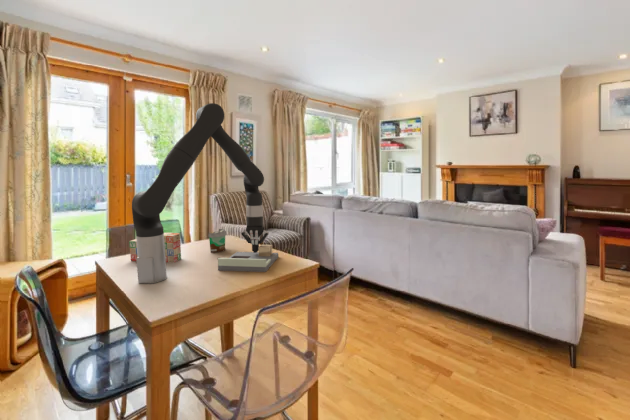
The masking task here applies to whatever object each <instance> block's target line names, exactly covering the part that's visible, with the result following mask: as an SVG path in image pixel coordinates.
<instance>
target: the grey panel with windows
mask: <svg viewBox="0 0 630 420" xmlns="http://www.w3.org/2000/svg"><path fill="white" fill-rule="evenodd" d="M278 258H279V252H272V254H271V255H270V256H259V251H258V252H257V253H254V252H253V251H235V253H233V254H231V256H229V257H218V258H217V271H224V272H225V271H228V272H231V271H232V272H258V273H259V272H260V273H261V272H262V273H266V272H267V271H268V270H269V269H270V268H271V266H273V264H274V263H275V262H276V261H277V260H278ZM269 267H270V268H269Z"/></svg>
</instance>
